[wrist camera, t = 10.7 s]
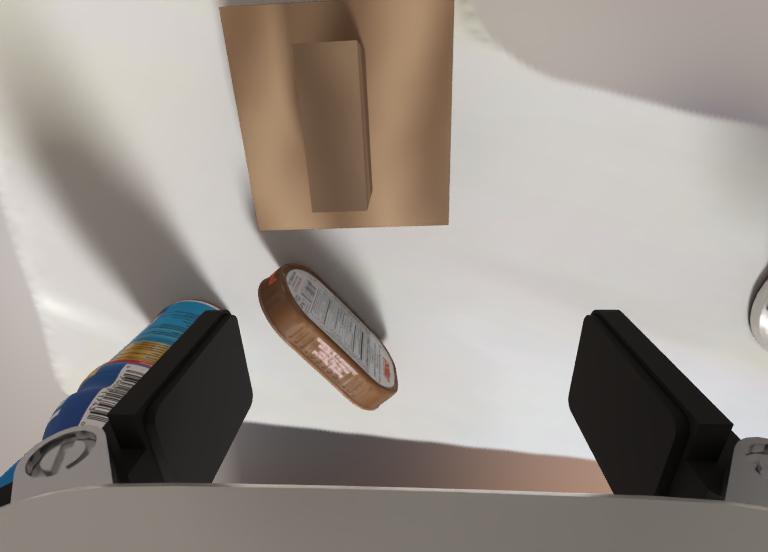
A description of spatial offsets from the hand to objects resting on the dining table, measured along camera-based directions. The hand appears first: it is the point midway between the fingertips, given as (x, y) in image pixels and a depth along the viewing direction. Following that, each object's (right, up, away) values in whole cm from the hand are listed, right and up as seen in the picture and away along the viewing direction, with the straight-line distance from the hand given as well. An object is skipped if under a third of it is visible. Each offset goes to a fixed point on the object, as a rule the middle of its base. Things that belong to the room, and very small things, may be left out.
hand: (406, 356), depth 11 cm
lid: (-3, +12, +15) cm, 19 cm away
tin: (-5, -1, +27) cm, 28 cm away
